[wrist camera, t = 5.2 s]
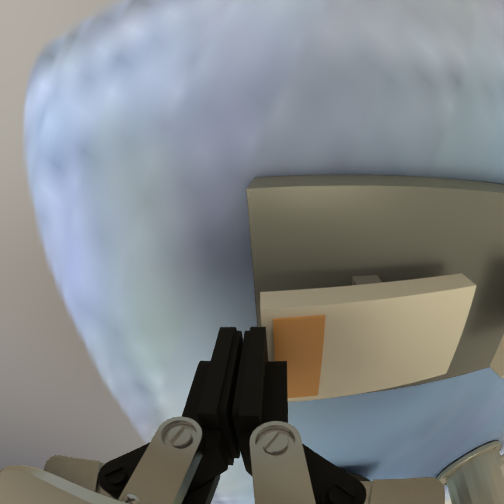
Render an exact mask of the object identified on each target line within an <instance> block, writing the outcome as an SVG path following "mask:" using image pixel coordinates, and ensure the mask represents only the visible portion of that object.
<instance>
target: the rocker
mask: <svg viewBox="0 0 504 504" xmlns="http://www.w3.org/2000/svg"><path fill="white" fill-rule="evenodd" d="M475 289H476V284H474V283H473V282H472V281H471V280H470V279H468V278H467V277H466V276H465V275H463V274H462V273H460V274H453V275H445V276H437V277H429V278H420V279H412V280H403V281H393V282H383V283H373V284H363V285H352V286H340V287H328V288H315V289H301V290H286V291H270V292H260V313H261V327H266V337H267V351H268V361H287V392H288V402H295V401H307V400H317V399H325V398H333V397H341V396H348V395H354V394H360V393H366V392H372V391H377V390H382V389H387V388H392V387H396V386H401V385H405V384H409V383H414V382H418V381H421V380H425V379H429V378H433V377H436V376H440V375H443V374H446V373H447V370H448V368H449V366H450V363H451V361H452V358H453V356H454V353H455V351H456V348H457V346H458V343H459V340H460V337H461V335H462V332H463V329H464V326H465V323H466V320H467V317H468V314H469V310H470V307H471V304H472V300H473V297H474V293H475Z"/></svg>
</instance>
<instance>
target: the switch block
mask: <svg viewBox="0 0 504 504" xmlns="http://www.w3.org/2000/svg"><path fill="white" fill-rule="evenodd" d="M247 201H248V214H249V227H250V239H251V252H252V264H253V277H254V289H255V302H256V315H257V327H261V313H260V292H270V291H286V290H301V289H315V288H328V287H340V286H352V285H363V284H373V283H383V282H393V281H403V280H412V279H420V278H429V277H437V276H445V275H453V274H460V273H462V274H463V275H465V276H466V277H467V278H468V279H470V280H471V281H472V282H473V283H474V284H476V289H475V293H474V297H473V300H472V304H471V307H470V310H469V314H468V317H467V320H466V323H465V326H464V329H463V332H462V335H461V337H460V340H459V343H458V346H457V348H456V351H455V353H454V356H453V358H452V361H451V363H450V366H449V368H448V370H447V373H446V374H443V375H440V376H436V377H433V378H429V379H425V380H421V381H418V382H414V383H409V384H405V385H401V386H396V387H392V388H387V389H382V390H377V391H384V390H391V389H397V388H403V387H409V386H414V385H419V384H424V383H429V382H434V381H439V380H443V379H447V378H451V377H455V376H459V375H463V374H467V373H470V372H474V371H477V370H481V369H484V368H487V367H489V366H490V364H491V362H492V360H493V357H494V355H495V353H496V351H497V349H498V346H499V344H500V342H501V339H502V337H503V335H504V184H497V183H488V182H479V181H470V180H459V179H447V178H433V177H416V176H394V175H295V176H271V177H255V178H254V180H253V181H252V182H251V184H250V185H249V186H248V188H247ZM377 391H372V392H377ZM366 393H369V392H366Z"/></svg>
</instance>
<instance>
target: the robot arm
mask: <svg viewBox="0 0 504 504" xmlns="http://www.w3.org/2000/svg"><path fill="white" fill-rule="evenodd" d="M500 449H501V445H500V442H499V441H493V442H490V443H487V444H485V445H483V446H481V447H479V448H477V449H475V450H473V451H472V452H470V453H468V454H467V455H465V456H463V457H462V458H460V459H459V460H457V461H456V462H454V463H453V464H451V465H450V466H448V467H447V468H446V469H445V470H443V471H442V472H441V473H440V474H439V475H438V477H437V479H436V478H432V477H424V478H411V479H385V480H373V481H359V480H358V479H356V478H355V477H353V476H351V475H350V474H348V473H346V472H345V471H343V470H341V469H340V468H338V467H337V466H335V465H334V464H332V463H330V462H329V461H327V460H326V459H324V458H323V457H321V456H320V455H318V454H317V453H315V452H314V451H312V450H311V449H309V448H308V447H307V446H305V445H304V444H302V441H301V436H300V434H299V432H298V430H297V429H296V428H295V427H294V426H292V425H290V424H288V392H287V361H268V351H267V337H266V327H251V328H250V331H245V334H244V340H243V338H242V332H241V331H237V330H236V328H235V327H221V328H220V330H219V333H218V337H217V340H216V344H215V348H214V351H213V355H212V358H211V361H200V362H199V364H198V367H197V370H196V373H195V376H194V379H193V383H192V386H191V389H190V392H189V395H188V398H187V402H186V405H185V408H184V411H183V414H182V417H174V418H171V419H168V420H166V421H165V422H164V423H162V424H161V425H160V427H159V428H158V430H157V431H156V433H155V435H154V437H153V439H152V440H151V442H150V443H148V444H146V445H144V446H142V447H140V448H138V449H135V450H133V451H131V452H129V453H127V454H125V455H122V456H120V457H118V458H116V459H113V460H111V461H109V462H107V463H106V464H105V463H101V462H100V461H95V460H86V459H79V458H72V457H66V456H61V455H55V456H52V457H50V458H49V460H47V461H46V464H45V466H44V470H41V469H38V468H34V467H30V466H22V465H13V466H7V467H4V468H3V469H1V470H0V504H210V503H211V501H212V498H213V496H214V493H215V490H216V488H217V485H218V482H219V479H220V474H221V473H223V472H224V471H226V470H227V469H228V465H233V463H234V458H239V457H240V451H241V454H242V458H243V461H244V465H245V468H246V471H247V472H248V473H249V474H250V475H251V476H252V477H253V487H254V498H255V504H445V490H444V485H447V487H448V490H449V494H450V498H451V502H452V504H504V477H503V474H502V471H501V469H500V467H502V466H504V454H503V455H502V456H501V455H500V453H499V450H500Z"/></svg>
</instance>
